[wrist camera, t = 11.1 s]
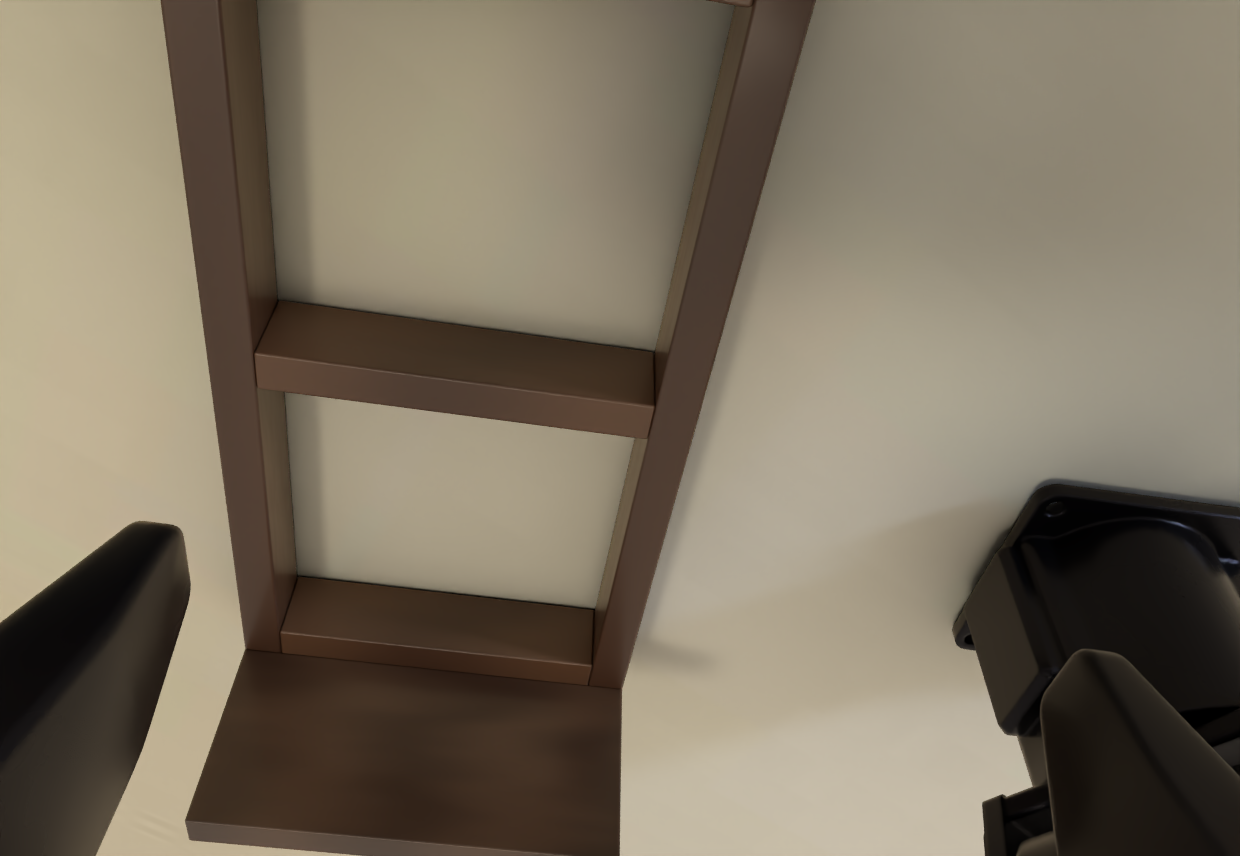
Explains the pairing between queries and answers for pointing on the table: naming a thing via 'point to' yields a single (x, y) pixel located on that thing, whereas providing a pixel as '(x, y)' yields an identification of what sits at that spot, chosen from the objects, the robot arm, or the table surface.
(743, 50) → the cup stand
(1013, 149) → the table surface
